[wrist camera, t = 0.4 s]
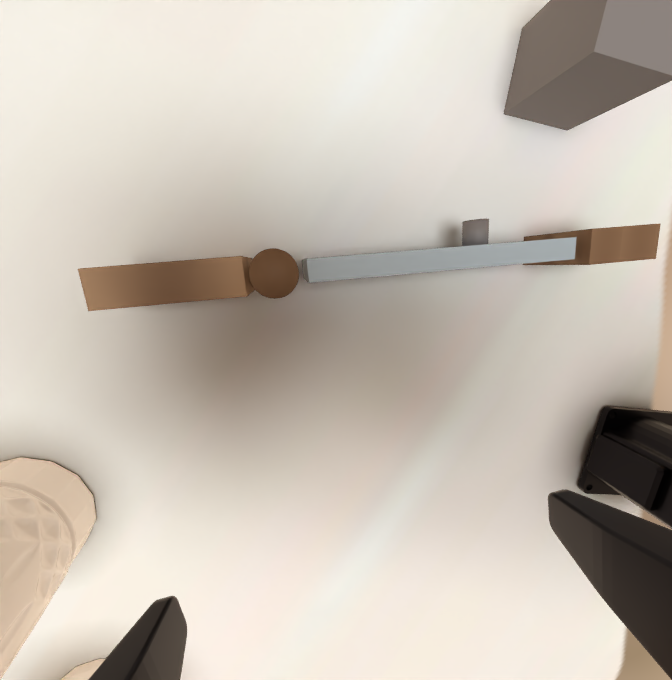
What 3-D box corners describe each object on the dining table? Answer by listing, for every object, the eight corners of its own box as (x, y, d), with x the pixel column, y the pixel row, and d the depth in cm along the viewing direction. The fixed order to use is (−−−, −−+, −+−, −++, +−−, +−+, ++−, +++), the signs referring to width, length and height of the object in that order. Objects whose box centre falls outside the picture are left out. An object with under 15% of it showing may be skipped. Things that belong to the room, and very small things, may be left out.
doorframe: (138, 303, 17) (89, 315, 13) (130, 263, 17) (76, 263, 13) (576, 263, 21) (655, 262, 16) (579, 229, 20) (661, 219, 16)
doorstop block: (587, 49, 18) (714, -42, 13) (566, 130, 19) (678, 77, 13) (521, 28, 17) (626, -76, 12) (503, 114, 18) (593, 51, 13)
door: (303, 279, 18) (308, 283, 14) (299, 236, 18) (304, 228, 14) (517, 260, 20) (574, 258, 16) (519, 221, 19) (578, 209, 15)
